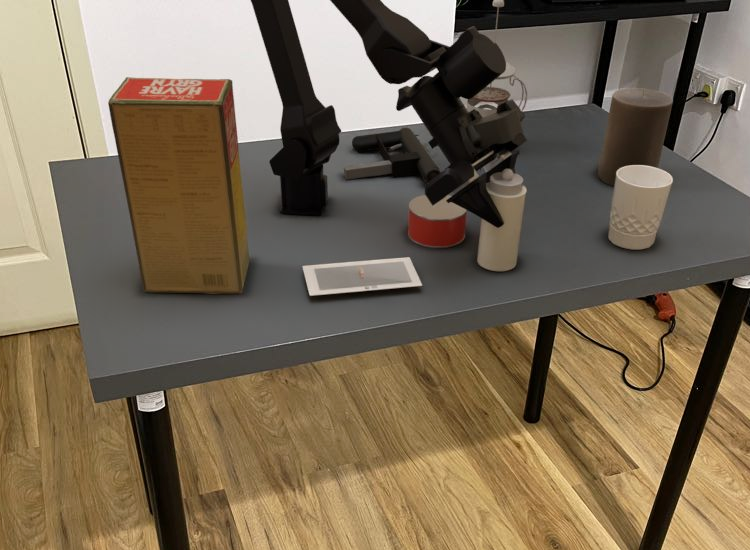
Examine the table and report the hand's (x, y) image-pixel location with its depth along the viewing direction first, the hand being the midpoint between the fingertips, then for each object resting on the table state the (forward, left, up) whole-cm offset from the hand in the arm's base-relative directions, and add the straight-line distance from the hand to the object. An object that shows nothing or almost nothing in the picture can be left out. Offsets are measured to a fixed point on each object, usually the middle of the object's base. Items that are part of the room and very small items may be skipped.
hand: (511, 218), depth 112 cm
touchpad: (-20, -7, -7) cm, 22 cm away
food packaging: (-42, -7, -7) cm, 43 cm away
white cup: (+19, +10, -7) cm, 23 cm away
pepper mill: (-1, +1, -7) cm, 7 cm away
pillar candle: (+22, +33, -7) cm, 40 cm away
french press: (-1, +44, -7) cm, 44 cm away
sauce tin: (-10, +8, -7) cm, 15 cm away
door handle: (-19, +33, -7) cm, 39 cm away
